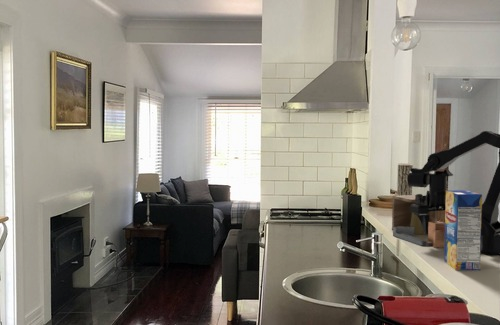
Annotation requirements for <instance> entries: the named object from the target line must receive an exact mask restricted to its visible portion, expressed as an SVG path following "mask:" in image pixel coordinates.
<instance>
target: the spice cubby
mask: <svg viewBox="0 0 500 325" xmlns="http://www.w3.org/2000/svg"><path fill="white" fill-rule="evenodd" d="M415 195H416V194H412V195H401V196H397V195H392V204H391V205H392V210H391V211H392V212H391V215H392V216H391V217H392V219H391V220H392V221H391V230H392V231H393V227H400V226H410V224H411V217H412V213H411V212H410V207H411V205H412V204H417V203H416V201H415ZM418 204H420V203H418ZM438 212H439V211H429V212H428V213H427V214H428V215H430V216H429V222H435V221H438V218H439V216H438V214H439V213H438ZM428 225H429V224H428ZM426 234H428V231H427V233H426Z"/></svg>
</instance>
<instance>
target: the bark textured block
mask: <svg viewBox="0 0 500 325" xmlns="http://www.w3.org/2000/svg"><path fill="white" fill-rule="evenodd" d="M411 168H414V166H413V163H402V162H401V163H397V181H396V182H397V183H396V184H397V189H396V192H397V193H396V196H401V195H413V187H411V186H409V185H408V181H407V178H408V175H409V173H410V172H411Z"/></svg>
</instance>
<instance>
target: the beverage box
mask: <svg viewBox="0 0 500 325" xmlns="http://www.w3.org/2000/svg"><path fill="white" fill-rule="evenodd" d="M482 202H483V194H482V193H478V192H475V191H471V190H453V189H452V190H451V189H450V190H447V189H446V209H445V211H444V213H445V214H444V215H445V217H444V220H445V221H444V223H445V247H444V253H443V255H444V256H443V258H444V259H443V260H444V263H446V264H447V265H448V266H450V268H452V269H454V270H455V271H481V252H480V251H481V214H482V204H483V203H482Z"/></svg>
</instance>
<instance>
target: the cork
mask: <svg viewBox="0 0 500 325" xmlns="http://www.w3.org/2000/svg"><path fill="white" fill-rule="evenodd" d="M411 213H412V217H411V224H410V226H413V227H414V235H425V234H426V233H424V231H423V228H422V225H421V222H420V220H419V218H418V216H417V215H414V214H413V212H411Z"/></svg>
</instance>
